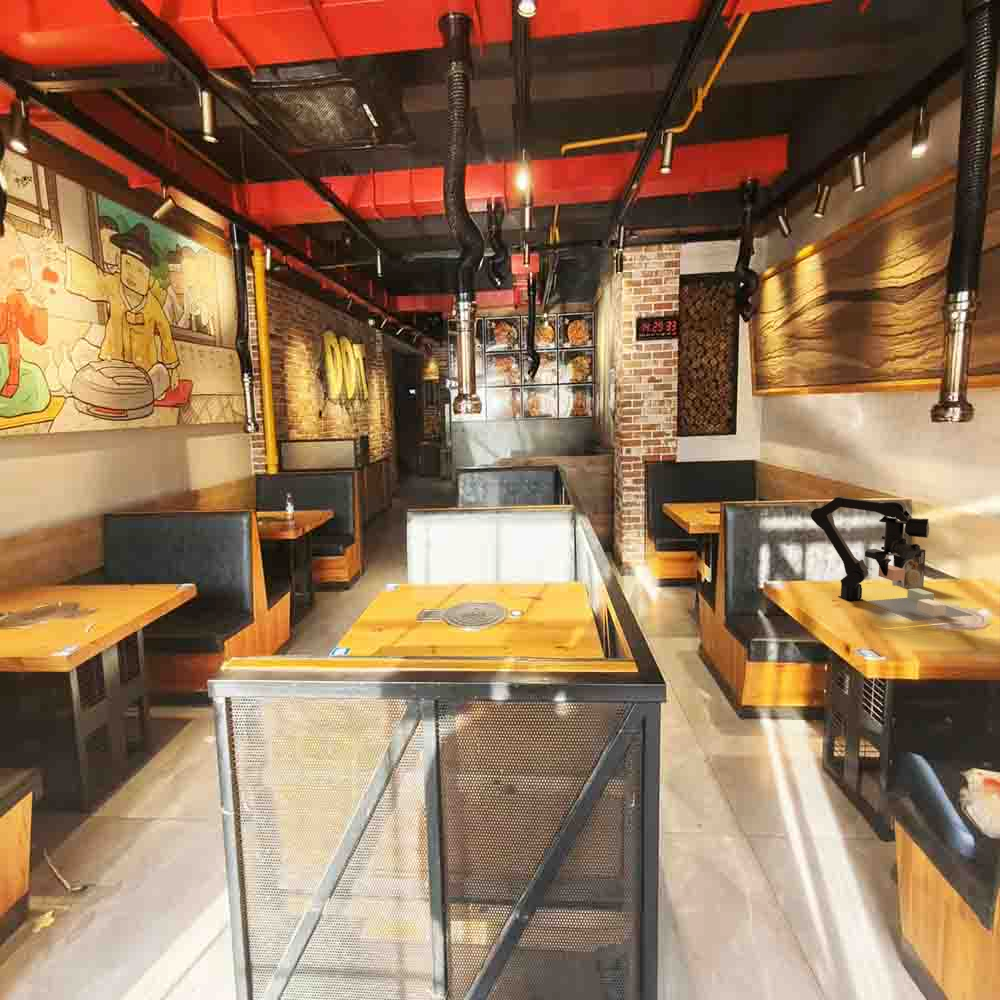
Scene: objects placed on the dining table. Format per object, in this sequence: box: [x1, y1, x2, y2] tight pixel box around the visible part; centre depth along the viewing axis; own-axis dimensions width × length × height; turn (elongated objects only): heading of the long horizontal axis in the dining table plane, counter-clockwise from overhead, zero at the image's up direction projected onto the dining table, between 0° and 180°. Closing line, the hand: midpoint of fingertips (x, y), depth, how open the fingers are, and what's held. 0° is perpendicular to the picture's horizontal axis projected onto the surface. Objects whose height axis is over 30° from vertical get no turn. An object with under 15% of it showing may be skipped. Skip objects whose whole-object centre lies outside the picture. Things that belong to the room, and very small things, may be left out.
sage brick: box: [906, 587, 935, 603], centre depth 222 cm, size 7×5×4 cm, turn 8°
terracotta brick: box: [878, 564, 905, 582], centre depth 218 cm, size 7×5×4 cm, turn 8°
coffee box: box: [891, 548, 926, 589], centre depth 242 cm, size 9×6×16 cm
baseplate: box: [865, 597, 973, 621], centre depth 216 cm, size 24×22×4 cm
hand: (891, 575), depth 218 cm, fingers closed on terracotta brick, 5 cm apart
